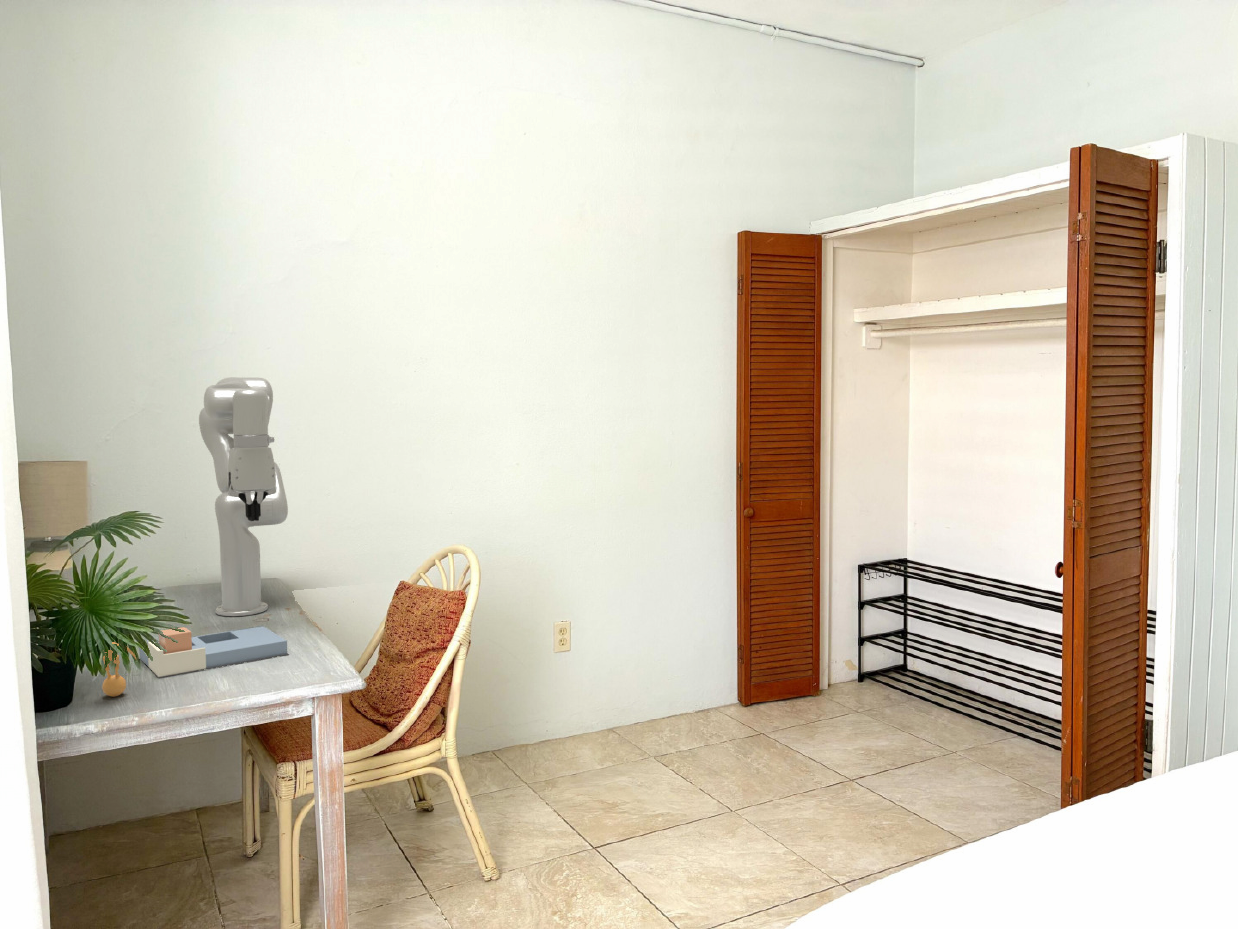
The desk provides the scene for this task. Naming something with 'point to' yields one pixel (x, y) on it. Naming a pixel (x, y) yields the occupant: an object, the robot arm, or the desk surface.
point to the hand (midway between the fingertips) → (253, 520)
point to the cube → (181, 637)
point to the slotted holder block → (217, 651)
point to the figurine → (114, 677)
